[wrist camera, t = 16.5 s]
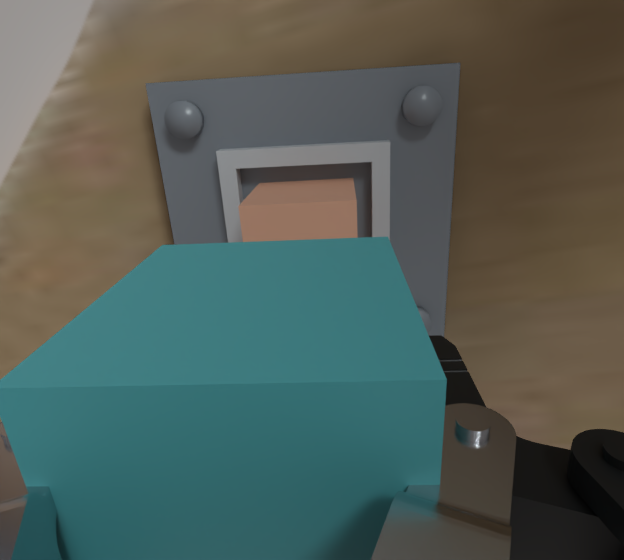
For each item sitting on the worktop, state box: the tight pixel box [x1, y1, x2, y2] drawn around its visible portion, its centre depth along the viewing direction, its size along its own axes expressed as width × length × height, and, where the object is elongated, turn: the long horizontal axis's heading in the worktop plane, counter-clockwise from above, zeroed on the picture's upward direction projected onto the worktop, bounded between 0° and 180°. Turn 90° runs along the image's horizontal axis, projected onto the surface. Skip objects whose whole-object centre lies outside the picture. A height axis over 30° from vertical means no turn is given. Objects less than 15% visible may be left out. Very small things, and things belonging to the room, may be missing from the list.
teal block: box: [0, 237, 447, 560], centre depth 9 cm, size 6×6×6 cm
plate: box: [146, 63, 460, 337], centre depth 28 cm, size 17×17×2 cm
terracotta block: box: [238, 178, 358, 242], centre depth 25 cm, size 6×6×6 cm
